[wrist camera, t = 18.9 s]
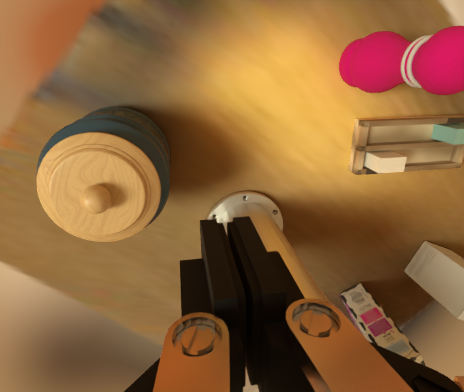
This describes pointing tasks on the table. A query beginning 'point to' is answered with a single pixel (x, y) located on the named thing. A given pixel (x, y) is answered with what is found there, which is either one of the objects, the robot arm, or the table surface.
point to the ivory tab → (384, 161)
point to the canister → (105, 174)
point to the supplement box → (440, 276)
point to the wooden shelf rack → (405, 142)
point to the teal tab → (449, 133)
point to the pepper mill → (406, 62)
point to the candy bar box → (377, 323)
